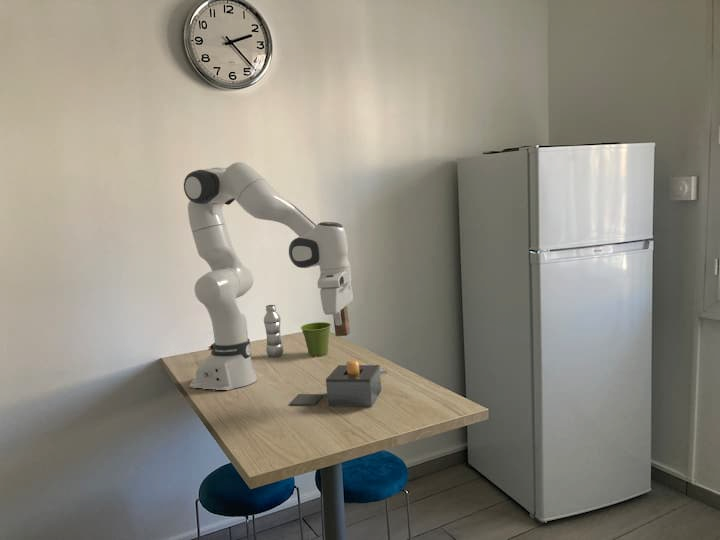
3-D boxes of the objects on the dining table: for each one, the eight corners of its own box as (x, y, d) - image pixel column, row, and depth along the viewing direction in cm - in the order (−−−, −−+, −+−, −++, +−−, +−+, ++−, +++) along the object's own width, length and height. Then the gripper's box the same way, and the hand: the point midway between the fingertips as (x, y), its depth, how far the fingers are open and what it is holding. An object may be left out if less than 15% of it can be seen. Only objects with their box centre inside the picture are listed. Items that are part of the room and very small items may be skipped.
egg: (346, 383, 166) (345, 364, 166) (349, 379, 170) (348, 360, 169) (358, 383, 166) (356, 364, 165) (361, 379, 169) (359, 360, 168)
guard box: (328, 405, 164) (325, 379, 163) (340, 390, 176) (338, 365, 175) (372, 406, 161) (369, 379, 159) (381, 390, 173) (379, 365, 172)
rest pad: (289, 405, 167) (289, 403, 167) (298, 395, 174) (298, 393, 174) (315, 405, 165) (314, 404, 165) (323, 395, 172) (323, 394, 172)
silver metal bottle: (275, 352, 226) (270, 303, 223) (287, 354, 222) (282, 304, 219) (263, 357, 220) (258, 307, 218) (276, 359, 216) (270, 307, 214)
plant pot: (298, 358, 215) (295, 329, 213) (310, 349, 226) (307, 322, 225) (327, 359, 211) (325, 329, 210) (338, 349, 223) (335, 321, 221)
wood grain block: (335, 336, 167) (332, 309, 166) (338, 333, 171) (335, 307, 170) (347, 335, 166) (343, 309, 165) (350, 332, 170) (347, 306, 169)
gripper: (335, 272, 177) (340, 315, 179) (315, 283, 158) (321, 331, 159) (355, 271, 176) (360, 314, 177) (336, 281, 156) (342, 330, 158)
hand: (341, 323), depth 168 cm, fingers closed on wood grain block, 3 cm apart
